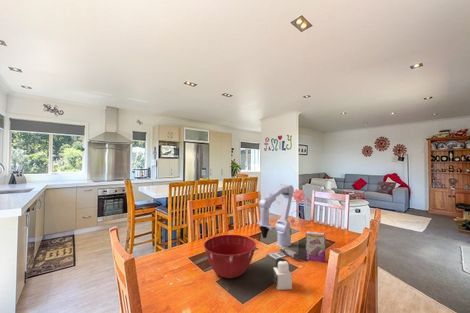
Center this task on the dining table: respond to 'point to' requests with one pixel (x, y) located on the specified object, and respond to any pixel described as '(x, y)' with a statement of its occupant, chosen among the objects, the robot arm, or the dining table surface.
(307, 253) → the candy bar box
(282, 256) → the label
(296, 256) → the door handle
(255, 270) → the dining table surface
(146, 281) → the dining table surface
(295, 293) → the dining table surface
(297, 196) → the figurine
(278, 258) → the plate
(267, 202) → the robot arm
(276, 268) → the medicine bottle
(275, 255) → the label
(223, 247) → the mixing bowl
